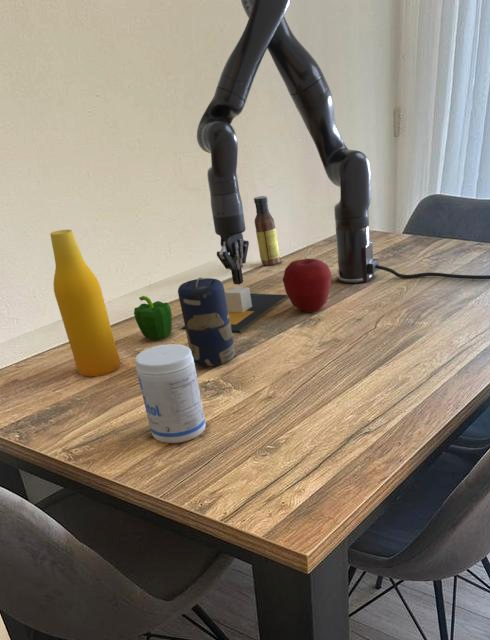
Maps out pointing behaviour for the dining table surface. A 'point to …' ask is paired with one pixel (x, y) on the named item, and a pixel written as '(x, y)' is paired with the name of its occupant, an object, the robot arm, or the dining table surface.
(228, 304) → the matte off-white cube
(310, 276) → the apple
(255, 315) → the mat
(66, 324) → the beer bottle
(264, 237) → the sauce bottle
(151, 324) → the bell pepper
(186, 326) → the canister
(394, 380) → the dining table surface
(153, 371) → the supplement tub
